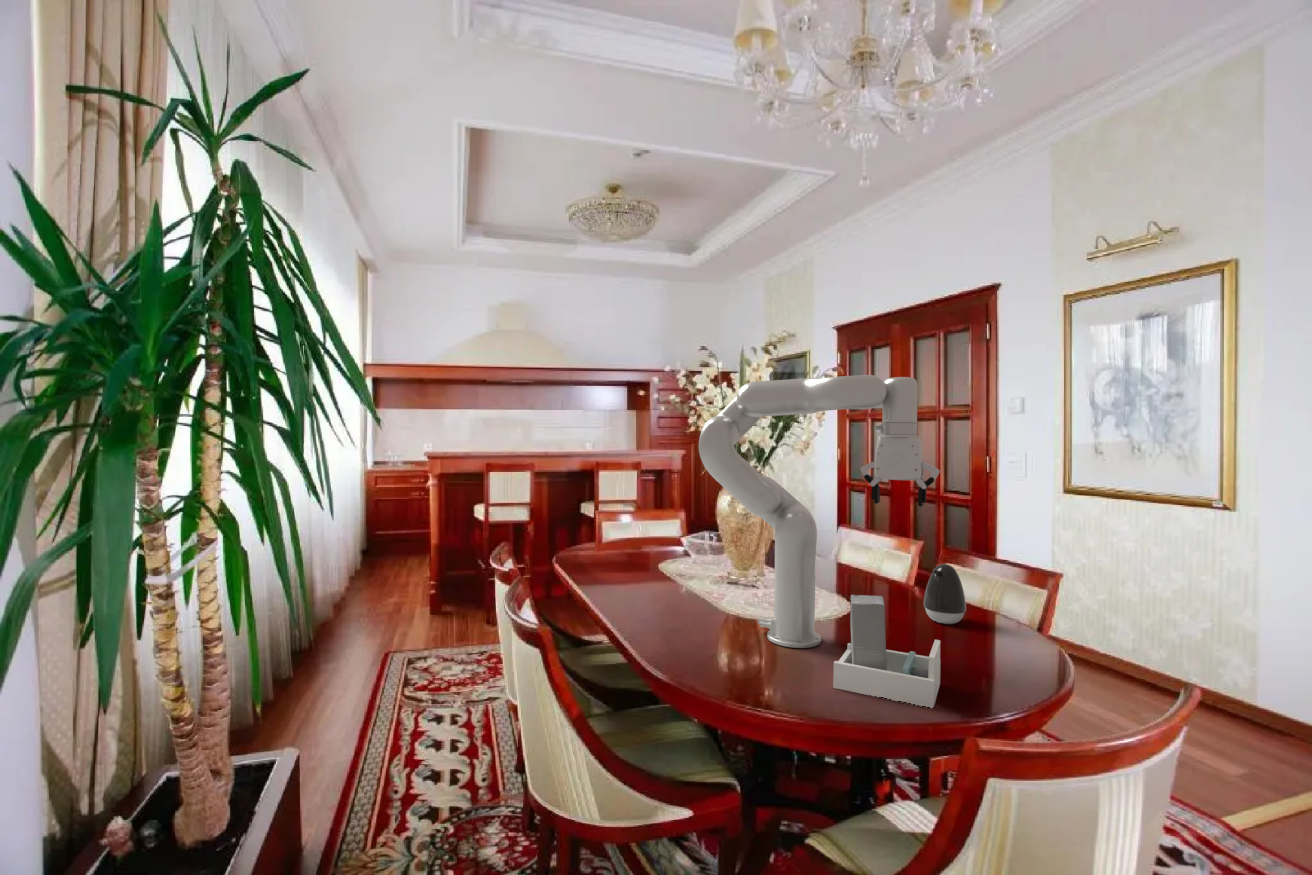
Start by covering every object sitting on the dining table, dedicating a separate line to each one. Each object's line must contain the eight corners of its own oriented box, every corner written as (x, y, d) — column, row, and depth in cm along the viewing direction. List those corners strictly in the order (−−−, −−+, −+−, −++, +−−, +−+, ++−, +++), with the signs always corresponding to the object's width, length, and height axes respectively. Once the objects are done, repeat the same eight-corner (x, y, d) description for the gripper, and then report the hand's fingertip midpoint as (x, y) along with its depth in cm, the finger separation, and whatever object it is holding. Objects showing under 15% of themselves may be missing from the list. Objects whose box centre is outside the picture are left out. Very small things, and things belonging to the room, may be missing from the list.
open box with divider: (833, 687, 123) (833, 642, 123) (848, 666, 135) (848, 624, 135) (933, 708, 115) (934, 659, 114) (940, 683, 126) (940, 638, 126)
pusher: (902, 692, 119) (902, 667, 119) (909, 674, 127) (910, 651, 127) (926, 697, 117) (927, 671, 116) (932, 678, 125) (932, 654, 125)
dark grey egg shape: (915, 619, 168) (916, 562, 168) (937, 613, 174) (938, 558, 174) (951, 629, 160) (952, 570, 160) (973, 622, 166) (974, 565, 166)
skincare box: (887, 687, 121) (889, 605, 121) (849, 682, 123) (850, 602, 123) (885, 671, 130) (886, 594, 129) (849, 667, 132) (850, 591, 131)
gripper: (857, 430, 147) (856, 503, 148) (938, 431, 139) (937, 508, 139) (864, 430, 154) (863, 500, 154) (941, 431, 145) (940, 505, 145)
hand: (898, 504), depth 146 cm, fingers open, 9 cm apart
